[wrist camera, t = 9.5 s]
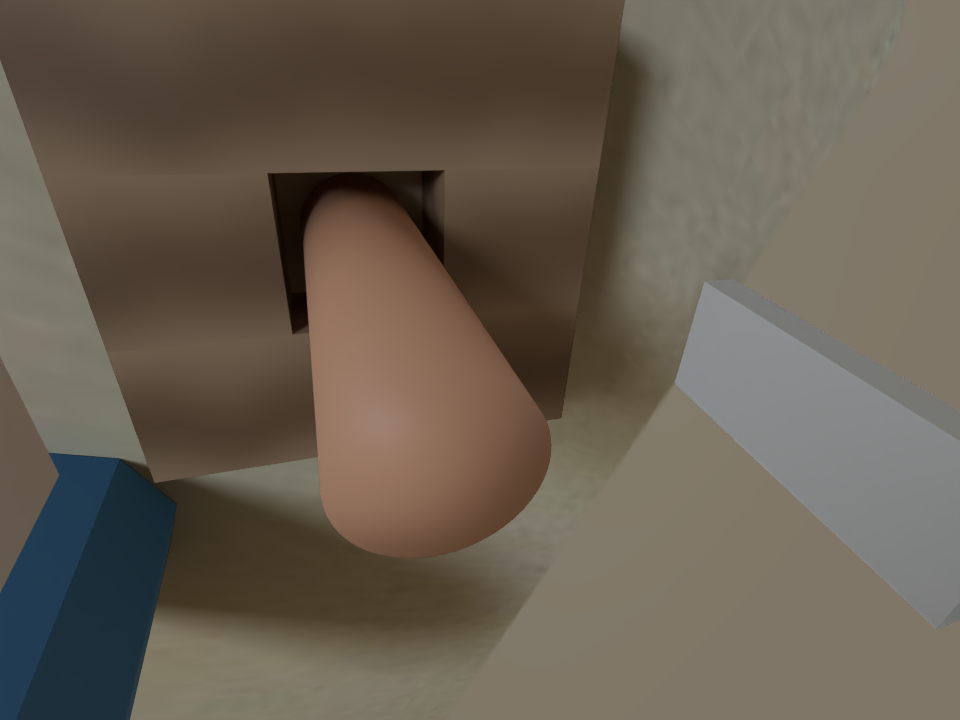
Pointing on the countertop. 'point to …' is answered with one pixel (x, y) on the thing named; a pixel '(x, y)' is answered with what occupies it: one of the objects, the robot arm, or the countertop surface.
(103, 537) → the water bottle
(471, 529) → the pin
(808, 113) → the countertop surface
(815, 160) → the countertop surface
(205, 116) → the socket block
